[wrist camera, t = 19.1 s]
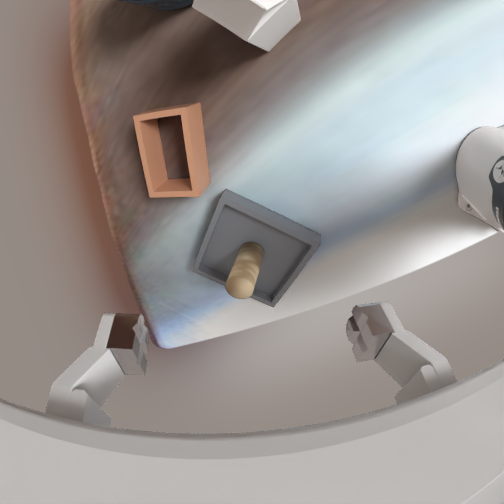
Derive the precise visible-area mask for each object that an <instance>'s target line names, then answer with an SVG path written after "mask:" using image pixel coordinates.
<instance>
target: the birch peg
mask: <svg viewBox="0 0 504 504" xmlns="http://www.w3.org/2000/svg"><path fill="white" fill-rule="evenodd" d="M263 257H264V250H263V248H262V247H261V246H260V245H259V244H258V243H255V242H246V243H244V244H243V245H242V246H241V248H240V250H239V253H238V255H237V257H236V260H235V262H234V265H233V267H232V269H231V272H230V274H229V277H228V279H227V282H226V284H225V288H226V291H227V292H228V293H229V294H230V295H231V296H233V297H235V298H238V299H246V298H249V297H250V296H251V295H252V294H253V290H254V287H255V284H256V280H257V277H258V274H259V270H260V267H261V263H262V260H263Z"/></svg>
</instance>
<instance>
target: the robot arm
mask: <svg viewBox="0 0 504 504" xmlns="http://www.w3.org/2000/svg"><path fill="white" fill-rule="evenodd" d="M456 178H457V183H458V187H459V193H458V206H459V207H460V208H461V209H462V210H464V211H466V212H468V213H470V214H472V215H473V216H475V217H477V218H479V219H481V220H482V221H484V222H486V223H488V224H489V225H491V226H493V227H494V228H496V229H498V230H499V231H501V232H503V233H504V126H502V127H499V128H495V127H481V128H478V129H476V130H474V131H473V132H471V133H470V134H469V135H468V136H467V137H466V139H465V140H464V142H463V143H462V145H461V147H460V149H459V152H458V155H457V160H456ZM468 204H469V206H467V205H468ZM352 313H353V316H352V317H350V318H349V319H348V322H347V324H346V333H347V337H348V340H349V341H350V342H351V343H353V344H354V345H353V348H352V350H353V353H354V356H355V358H356V361H357V362H362V361H368V360H374V359H375V362H377V363H378V364H379V365H380V366H381V367H382V368H383V369H384V370H385V371H386V372H387V373H388V374H389V375H390V376H391V377H392V378H393V379H394V380H395V381H396V382H397V383H398V384H399V385H400V386H401V387H402V389H401V390H400V391H399V392H398V393H397V394H396V396H395V400H396V402H397V404H396V405H393V406H390V407H387V408H383V409H380V410H376V411H372V412H368V413H364V414H360V415H356V416H352V417H348V418H343V419H339V420H334V421H329V422H323V423H318V424H312V425H306V426H299V427H292V428H285V429H277V430H268V431H257V432H242V433H217V434H189V433H165V432H151V431H139V430H130V429H123V428H116V427H111V418H110V416H109V415H108V414H107V413H106V412H105V411H104V410H103V409H102V408H101V407H102V406H103V405H104V403H105V402H106V400H107V399H108V398H109V397H110V395H111V394H112V393H113V391H114V390H115V389H116V387H117V386H118V385H119V383H120V382H121V380H122V379H123V378H124V377H125V375H126V374H127V375H145V374H146V367H147V359H146V357H145V354H146V353H147V352H148V351H149V333H148V329H147V328H146V327H145V326H144V318H143V315H140V314H120V313H105V314H104V315H103V316H102V319H101V322H100V326H99V328H98V332H97V335H96V339H95V342H94V346H93V347H89V348H88V349H87V350H86V351H85V352H84V353H83V354H82V355H81V356H80V357H79V358H78V359H77V360H76V361H75V362H74V363H73V364H72V365H71V366H70V367H69V368H68V369H67V370H66V371H65V372H64V373H63V374H62V375H61V376H59V378H58V379H56V380H55V381H54V382H53V384H52V387H51V391H50V395H49V399H48V403H47V407H46V412H45V413H44V412H40V411H37V410H33V409H30V408H27V407H24V406H21V405H18V404H15V403H12V402H9V401H6V400H3V399H1V398H0V504H504V359H503V360H500V361H498V362H497V363H495V364H493V365H491V366H489V367H487V368H485V369H483V370H481V371H479V372H477V373H475V374H473V375H471V376H469V377H467V378H464V379H462V380H460V381H457V379H456V377H455V375H454V373H453V371H452V369H451V367H450V365H449V363H448V361H447V359H446V358H445V357H444V356H443V355H441V354H440V353H438V352H437V351H436V350H434V349H433V348H432V347H430V346H429V345H427V344H426V343H425V342H423V341H422V340H420V339H419V338H418V337H416V336H415V335H413V334H412V333H410V332H409V331H408V330H407V331H405V330H404V328H403V326H402V324H401V323H400V321H399V319H398V317H397V315H396V313H395V311H394V309H393V308H392V306H391V304H390V303H389V302H380V303H370V304H363V305H356V306H355V307H354V308H353V310H352Z"/></svg>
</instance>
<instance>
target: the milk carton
mask: <svg viewBox="0 0 504 504" xmlns="http://www.w3.org/2000/svg"><path fill="white" fill-rule="evenodd" d="M192 7H193V8H194V9H196V10H198V11H199V12H201V13H203V14H204V15H206V16H208V17H209V18H211V19H213V20H214V21H216V22H217V23H219V24H221V25H222V26H224V27H225V28H227V29H228V30H230V31H231V32H233V33H234V34H236V35H237V36H239V37H240V38H242V39H243V40H245V41H247V42H249V43H251V44H253V45H255V46H257V47H259V48H262V49H264V50H266V51H268V52H269V51H270V50H271V49H272V48H273V47H274V46H275V45H276V44H277V43H278V42H279V41H280V40H281V39H282V38H283V37H284V36H285V35H286V34H287V33H288V32H289V31H290V30H291V29H292V28H293V27H294V26H295V25H297V24H298V23H299V22H300V21H301V18H300V13H299V8H298V4H297V0H194V2H193V5H192Z"/></svg>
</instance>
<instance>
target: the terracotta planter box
mask: <svg viewBox="0 0 504 504" xmlns="http://www.w3.org/2000/svg"><path fill="white" fill-rule="evenodd" d="M174 115H181V120H182V127H183V134H184V141H185V148H186V154H187V161H188V167H189V173H190V178H181V179H168V176H167V171H166V166H165V160H164V155H163V149H162V144H161V138H160V132H159V125H158V119H157V118H161V117H167V116H174ZM133 118H134V124H135V129H136V135H137V140H138V145H139V150H140V155H141V160H142V165H143V170H144V174H145V179H146V183H147V188H148V192H149V196H150V198H154V197H200V195H201V194H202V193H203V192H204V191H205V189H206V188H207V187H208V186H209V184H210V183H211V182H210V175H209V167H208V160H207V152H206V144H205V136H204V128H203V119H202V111H201V102H198V103H190V104H183V105H176V106H170V107H163V108H158V109H152V110H149V111H146V112H143V113H140V114H137V115H135V116H133Z"/></svg>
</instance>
